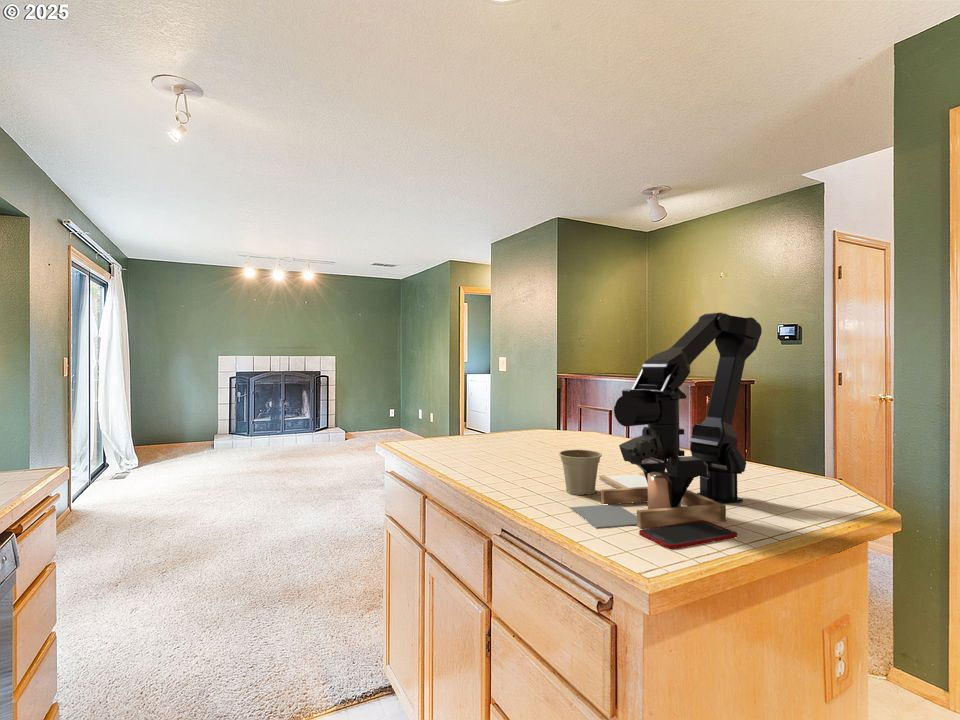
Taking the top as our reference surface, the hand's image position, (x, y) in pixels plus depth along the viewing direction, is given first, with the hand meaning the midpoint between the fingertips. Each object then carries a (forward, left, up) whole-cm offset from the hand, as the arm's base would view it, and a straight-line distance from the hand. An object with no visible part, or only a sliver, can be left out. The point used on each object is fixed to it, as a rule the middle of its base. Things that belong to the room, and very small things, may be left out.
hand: (664, 503), depth 95 cm
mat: (+12, 0, -2) cm, 12 cm away
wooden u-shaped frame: (+1, 0, -2) cm, 2 cm away
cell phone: (+3, +12, -2) cm, 13 cm away
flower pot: (+10, -17, -2) cm, 20 cm away
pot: (0, 0, -2) cm, 2 cm away
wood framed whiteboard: (-5, -18, -2) cm, 19 cm away
